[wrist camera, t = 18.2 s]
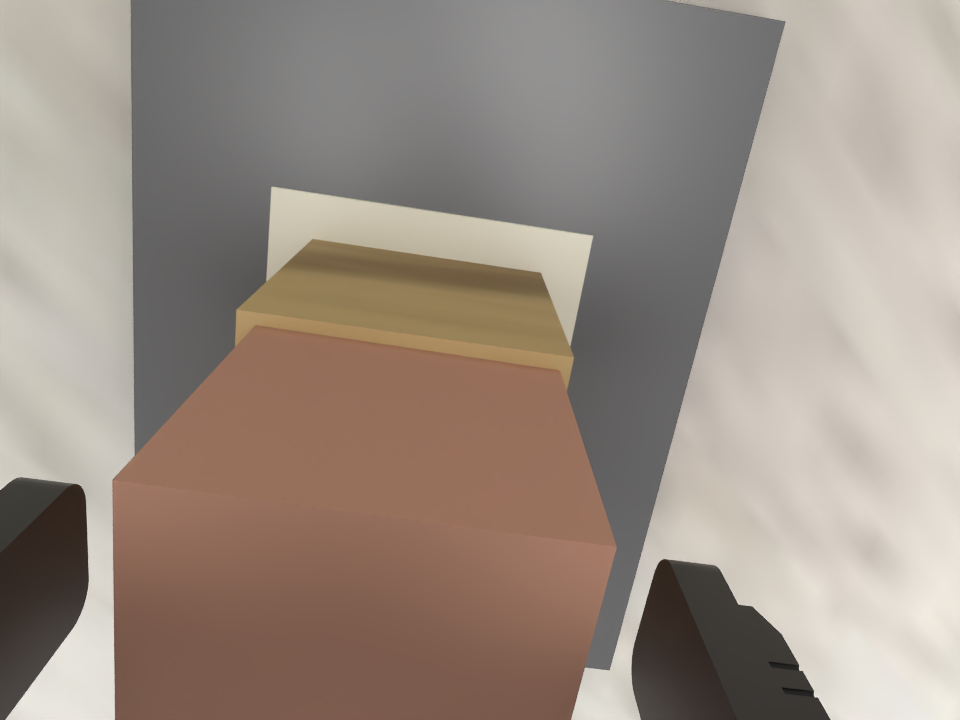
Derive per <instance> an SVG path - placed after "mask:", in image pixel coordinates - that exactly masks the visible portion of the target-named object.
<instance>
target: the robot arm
mask: <svg viewBox="0 0 960 720" xmlns="http://www.w3.org/2000/svg"><path fill="white" fill-rule="evenodd" d="M88 582H89V574H88V546H87V518H86V498H85V493H84V491H83V489H82V487H81V486H79V485H77V484H70V483H62V482H54V481H46V480H38V479H30V478H22V477H21V478H16V479H14V480H12V481H11V482H10V483H8V484H7V485H6V486H5V487H4V488H3V489H1V490H0V720H5V719H6V718H7V717H8V715H9V714H10V712H11V711H12V710H13V708H14V707H15V706H16V704H17V703H18V702H19V700H20V699H21V698H22V696H23V695H24V694H25V692H26V691H27V690H28V688H29V687H30V685H31V684H32V683H33V681H34V680H35V679H36V677H37V676H38V675H39V673H40V672H41V671H42V669H43V668H44V667H45V665H46V664H47V663H48V661H49V660H50V658H51V657H52V656H53V654H54V653H55V652H56V650H57V649H58V648H59V646H60V645H61V644H62V642H63V641H64V640H65V638H66V637H67V636H68V634H69V633H70V631H71V630H72V629H73V627H74V626H75V624H76V622H77V620H78V618H79V616H80V614H81V611H82V609H83V606H84V603H85V599H86V595H87V590H88ZM632 685H633V691H634V695H635V699H636V702H637V706H638V710H639V713H640V717H641V720H830V718H829V716H828V715H827V713H826V711H825V709H824V708H823V706H822V704H821V702H820V701H819V699H818V698H815V697H814V690H813V688H812V687H811V685H810V683H809V682H808V680H807V678H806V676H805V675H804V673H803V671H799V664H798V662H797V661H796V659H795V657H794V655H793V654H792V652H791V650H790V648H789V647H788V645H787V643H786V641H785V640H784V638H783V636H782V634H781V633H779V632H778V631H777V630H776V629H775V628H774V627H773V626H772V625H771V624H770V623H769V622H768V621H767V620H766V619H765V618H764V617H763V616H762V615H760V614H759V613H758V612H757V611H756V610H755V609H754V608H753V607H752V606H743V605H738V603H737V601H736V599H735V598H734V596H733V594H732V592H731V590H730V588H729V586H728V584H727V582H726V580H725V578H724V577H723V575H722V573H721V571H720V570H719V568H718V567H716V566H714V565H707V564H699V563H691V562H683V561H675V560H667V559H663V560H661V561H660V562H659V564H658V565H657V568H656V570H655V573H654V576H653V580H652V583H651V587H650V590H649V594H648V597H647V601H646V605H645V608H644V612H643V615H642V619H641V622H640V626H639V629H638V633H637V637H636V640H635V644H634V648H633V655H632Z"/></svg>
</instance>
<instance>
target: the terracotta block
mask: <svg viewBox="0 0 960 720" xmlns="http://www.w3.org/2000/svg"><path fill="white" fill-rule="evenodd" d="M616 548H617V546H616V543H615V540H614V537H613V534H612V530H611V527H610V524H609V521H608V518H607V515H606V512H605V509H604V506H603V503H602V499H601V496H600V493H599V490H598V487H597V484H596V481H595V478H594V475H593V472H592V468H591V465H590V462H589V459H588V456H587V453H586V450H585V447H584V444H583V441H582V437H581V434H580V431H579V428H578V425H577V422H576V419H575V416H574V413H573V410H572V406H571V403H570V400H569V397H568V394H567V391H566V388H565V385H564V382H563V379H562V375H561V372H560V370H554V369H548V368H541V367H534V366H527V365H521V364H514V363H507V362H500V361H494V360H487V359H480V358H474V357H467V356H460V355H453V354H447V353H440V352H433V351H426V350H420V349H413V348H406V347H400V346H393V345H386V344H379V343H373V342H366V341H359V340H352V339H346V338H339V337H332V336H326V335H319V334H312V333H305V332H299V331H292V330H285V329H278V328H272V327H265V326H258V325H255V326H254V327H253V328H252V329H251V331H250V332H249V333H248V334H247V335H246V336H245V337H244V338H243V339H242V340H241V341H240V342H239V344H238V345H237V346H236V347H235V348H234V349H233V350H232V351H231V352H230V353H229V354H228V355H227V357H226V358H225V359H224V360H223V361H222V362H221V363H220V364H219V365H218V366H217V367H216V368H215V370H214V371H213V372H212V373H211V374H210V375H209V376H208V377H207V378H206V379H205V380H204V381H203V383H202V384H201V385H200V386H199V387H198V388H197V389H196V390H195V391H194V392H193V393H192V394H191V396H190V397H189V398H188V399H187V400H186V401H185V402H184V403H183V404H182V405H181V406H180V407H179V409H178V410H177V411H176V412H175V413H174V414H173V415H172V416H171V417H170V418H169V419H168V420H167V422H166V423H165V424H164V425H163V426H162V427H161V428H160V429H159V430H158V431H157V432H156V433H155V435H154V436H153V437H152V438H151V439H150V440H149V441H148V442H147V443H146V444H145V445H144V446H143V448H142V449H141V450H140V451H139V452H138V453H137V454H136V455H135V456H134V457H133V458H132V459H131V461H130V462H129V463H128V464H127V465H126V466H125V467H124V468H123V469H122V470H121V471H120V472H119V474H118V475H117V476H116V477H115V478H114V479H113V570H114V660H115V720H571V717H572V713H573V710H574V706H575V702H576V698H577V695H578V691H579V687H580V683H581V680H582V676H583V672H584V668H585V665H586V661H587V657H588V653H589V650H590V646H591V642H592V638H593V635H594V631H595V627H596V623H597V620H598V616H599V612H600V608H601V605H602V601H603V597H604V593H605V590H606V586H607V582H608V578H609V575H610V571H611V567H612V563H613V560H614V556H615V552H616Z"/></svg>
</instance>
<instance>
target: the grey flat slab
mask: <svg viewBox="0 0 960 720" xmlns="http://www.w3.org/2000/svg"><path fill="white" fill-rule="evenodd" d="M784 25H785V21H779V20H774V19H768V18H762V17H757V16H751V15H745V14H740V13H734V12H728V11H722V10H717V9H711V8H705V7H700V6H694V5H688V4H683V3H677V2H671V1H665V0H131V80H132V193H133V307H134V420H135V455H136V454H137V453H138V452H139V451H140V450H141V449H142V448H143V446H144V445H145V444H146V443H147V442H148V441H149V440H150V439H151V438H152V437H153V436H154V435H155V433H156V432H157V431H158V430H159V429H160V428H161V427H162V426H163V425H164V424H165V423H166V422H167V420H168V419H169V418H170V417H171V416H172V415H173V414H174V413H175V412H176V411H177V410H178V409H179V407H180V406H181V405H182V404H183V403H184V402H185V401H186V400H187V399H188V398H189V397H190V396H191V394H192V393H193V392H194V391H195V390H196V389H197V388H198V387H199V386H200V385H201V384H202V383H203V381H204V380H205V379H206V378H207V377H208V376H209V375H210V374H211V373H212V372H213V371H214V370H215V368H216V367H217V366H218V365H219V364H220V363H221V362H222V361H223V360H224V359H225V358H226V357H227V355H228V354H229V353H230V352H231V351H232V350H233V349H234V348H235V333H236V310H237V309H238V308H239V307H240V306H241V305H242V304H243V303H244V302H245V301H246V300H247V299H248V298H250V297H251V296H252V295H253V294H254V293H255V292H256V291H257V290H258V289H259V288H260V287H261V286H262V285H264V284H265V283H266V282H267V281H268V280H269V279H270V278H271V277H272V276H273V275H274V274H275V273H276V272H278V271H279V270H280V269H281V268H282V267H283V266H284V265H285V264H286V263H287V262H288V261H289V260H290V259H292V258H293V257H294V256H295V255H296V254H297V253H298V252H299V251H300V250H301V249H302V248H303V247H304V246H306V245H307V244H308V243H309V242H310V241H311V240H312V239H317V240H324V241H330V242H337V243H344V244H351V245H357V246H364V247H371V248H378V249H384V250H391V251H398V252H405V253H411V254H418V255H425V256H432V257H438V258H445V259H452V260H459V261H465V262H472V263H479V264H486V265H492V266H499V267H506V268H512V269H519V270H526V271H533V272H539V273H541V274H542V277H543V279H544V282H545V285H546V287H547V290H548V292H549V295H550V297H551V300H552V302H553V305H554V307H555V310H556V313H557V315H558V318H559V320H560V323H561V325H562V328H563V330H564V333H565V336H566V338H567V341H568V343H569V346H570V348H571V351H572V353H573V356H574V360H573V365H572V369H571V374H570V379H569V384H568V388H567V394H568V397H569V400H570V403H571V406H572V410H573V413H574V416H575V419H576V422H577V425H578V428H579V431H580V434H581V437H582V441H583V444H584V447H585V450H586V453H587V456H588V459H589V462H590V465H591V468H592V472H593V475H594V478H595V481H596V484H597V487H598V490H599V493H600V496H601V499H602V503H603V506H604V509H605V512H606V515H607V518H608V521H609V524H610V527H611V530H612V534H613V537H614V540H615V543H616V546H617V548H616V552H615V556H614V560H613V563H612V567H611V571H610V575H609V578H608V582H607V586H606V590H605V593H604V597H603V601H602V605H601V608H600V612H599V616H598V620H597V623H596V627H595V631H594V635H593V638H592V642H591V646H590V650H589V653H588V657H587V661H586V665H585V667H586V668H595V669H603V670H610V667H611V663H612V659H613V656H614V652H615V648H616V645H617V641H618V637H619V633H620V630H621V626H622V622H623V619H624V615H625V611H626V608H627V604H628V600H629V597H630V593H631V589H632V586H633V582H634V578H635V574H636V571H637V567H638V563H639V560H640V556H641V552H642V549H643V545H644V541H645V538H646V534H647V530H648V526H649V523H650V519H651V515H652V512H653V508H654V504H655V501H656V497H657V493H658V490H659V486H660V482H661V478H662V475H663V471H664V467H665V464H666V460H667V456H668V453H669V449H670V445H671V442H672V438H673V434H674V431H675V427H676V423H677V419H678V416H679V412H680V408H681V405H682V401H683V397H684V394H685V390H686V386H687V383H688V379H689V375H690V371H691V368H692V364H693V360H694V357H695V353H696V349H697V346H698V342H699V338H700V335H701V331H702V327H703V324H704V320H705V316H706V312H707V309H708V305H709V301H710V298H711V294H712V290H713V287H714V283H715V279H716V276H717V272H718V268H719V264H720V261H721V257H722V253H723V250H724V246H725V242H726V239H727V235H728V231H729V228H730V224H731V220H732V217H733V213H734V209H735V205H736V202H737V198H738V194H739V191H740V187H741V183H742V180H743V176H744V172H745V169H746V165H747V161H748V157H749V154H750V150H751V146H752V143H753V139H754V135H755V132H756V128H757V124H758V121H759V117H760V113H761V109H762V106H763V102H764V98H765V95H766V91H767V87H768V84H769V80H770V76H771V73H772V69H773V65H774V62H775V58H776V54H777V50H778V47H779V43H780V39H781V36H782V32H783V28H784Z"/></svg>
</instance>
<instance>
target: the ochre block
mask: <svg viewBox="0 0 960 720" xmlns="http://www.w3.org/2000/svg"><path fill="white" fill-rule="evenodd" d="M255 325H258V326H265V327H272V328H278V329H285V330H292V331H299V332H305V333H312V334H319V335H326V336H332V337H339V338H346V339H352V340H359V341H366V342H373V343H379V344H386V345H393V346H400V347H406V348H413V349H420V350H426V351H433V352H440V353H447V354H453V355H460V356H467V357H474V358H480V359H487V360H494V361H500V362H507V363H514V364H521V365H527V366H534V367H541V368H548V369H554V370H560V372H561V375H562V379H563V382H564V385H565V388H566V391H567V388H568V384H569V379H570V374H571V369H572V365H573V360H574V356H573V353H572V351H571V348H570V346H569V343H568V341H567V338H566V336H565V333H564V330H563V328H562V325H561V323H560V320H559V318H558V315H557V313H556V310H555V307H554V305H553V302H552V300H551V297H550V295H549V292H548V290H547V287H546V285H545V282H544V279H543V277H542V274H541V273H539V272H533V271H526V270H519V269H512V268H506V267H499V266H492V265H486V264H479V263H472V262H465V261H459V260H452V259H445V258H438V257H432V256H425V255H418V254H411V253H405V252H398V251H391V250H384V249H378V248H371V247H364V246H357V245H351V244H344V243H337V242H330V241H324V240H317V239H312V240H311V241H310V242H309V243H308V244H307V245H306V246H304V247H303V248H302V249H301V250H300V251H299V252H298V253H297V254H296V255H295V256H294V257H293V258H292V259H290V260H289V261H288V262H287V263H286V264H285V265H284V266H283V267H282V268H281V269H280V270H279V271H278V272H276V273H275V274H274V275H273V276H272V277H271V278H270V279H269V280H268V281H267V282H266V283H265V284H264V285H262V286H261V287H260V288H259V289H258V290H257V291H256V292H255V293H254V294H253V295H252V296H251V297H250V298H248V299H247V300H246V301H245V302H244V303H243V304H242V305H241V306H240V307H239V308H238V309H237V310H236V333H235V347H236V346H237V345H238V344H239V342H240V341H241V340H242V339H243V338H244V337H245V336H246V335H247V334H248V333H249V332H250V331H251V329H252V328H253V327H254V326H255Z"/></svg>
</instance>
